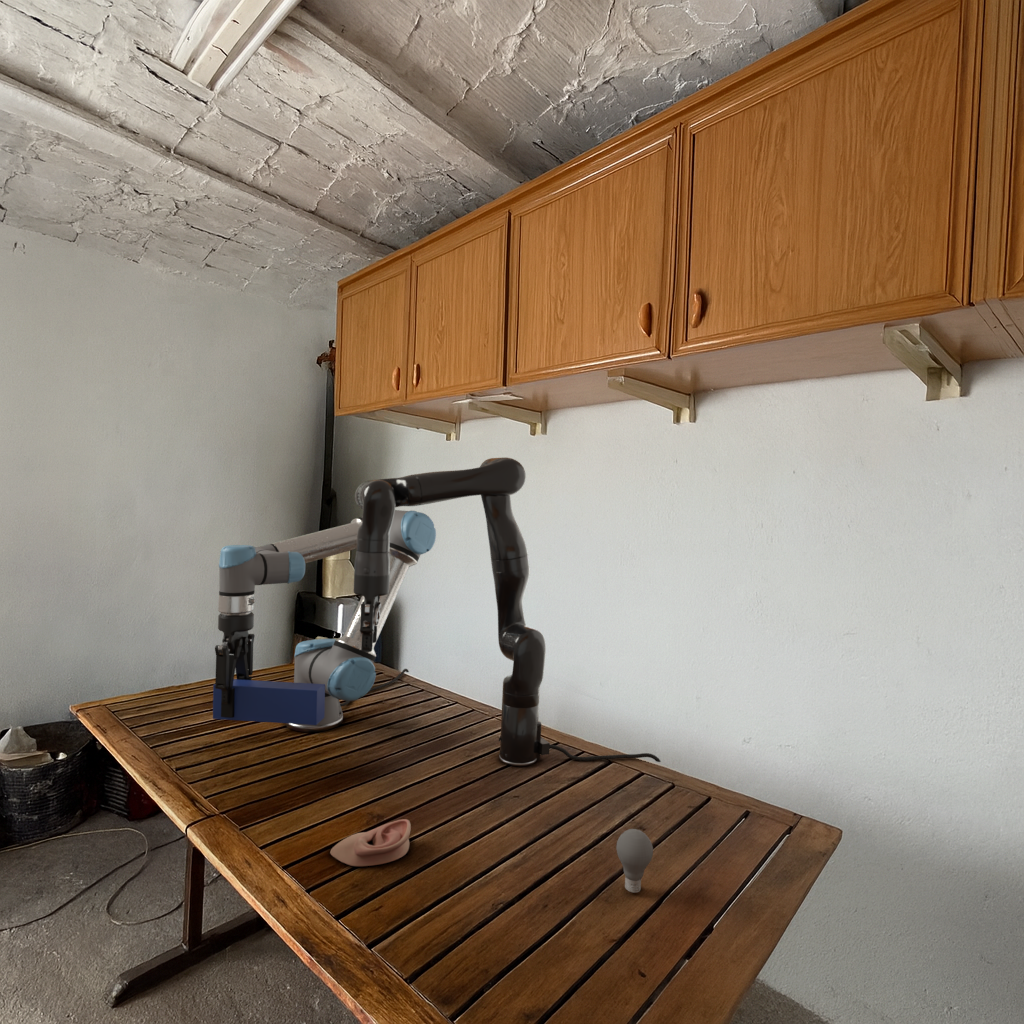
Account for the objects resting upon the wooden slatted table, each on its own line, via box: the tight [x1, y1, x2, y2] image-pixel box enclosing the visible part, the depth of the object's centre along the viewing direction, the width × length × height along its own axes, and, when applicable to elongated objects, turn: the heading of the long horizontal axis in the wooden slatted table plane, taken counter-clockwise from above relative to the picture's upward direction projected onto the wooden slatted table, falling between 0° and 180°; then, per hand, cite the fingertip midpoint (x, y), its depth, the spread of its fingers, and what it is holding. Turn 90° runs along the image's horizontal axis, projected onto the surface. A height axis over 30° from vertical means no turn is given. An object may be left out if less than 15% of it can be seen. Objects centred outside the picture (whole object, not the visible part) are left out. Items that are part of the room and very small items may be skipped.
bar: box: [212, 678, 325, 725], centre depth 146 cm, size 24×5×8 cm, turn 85°
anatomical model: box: [329, 818, 412, 867], centre depth 114 cm, size 13×4×12 cm
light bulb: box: [615, 828, 654, 894], centre depth 106 cm, size 6×6×10 cm
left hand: (233, 712), depth 146 cm, fingers closed on bar, 5 cm apart
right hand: (369, 646), depth 137 cm, fingers open, 8 cm apart
